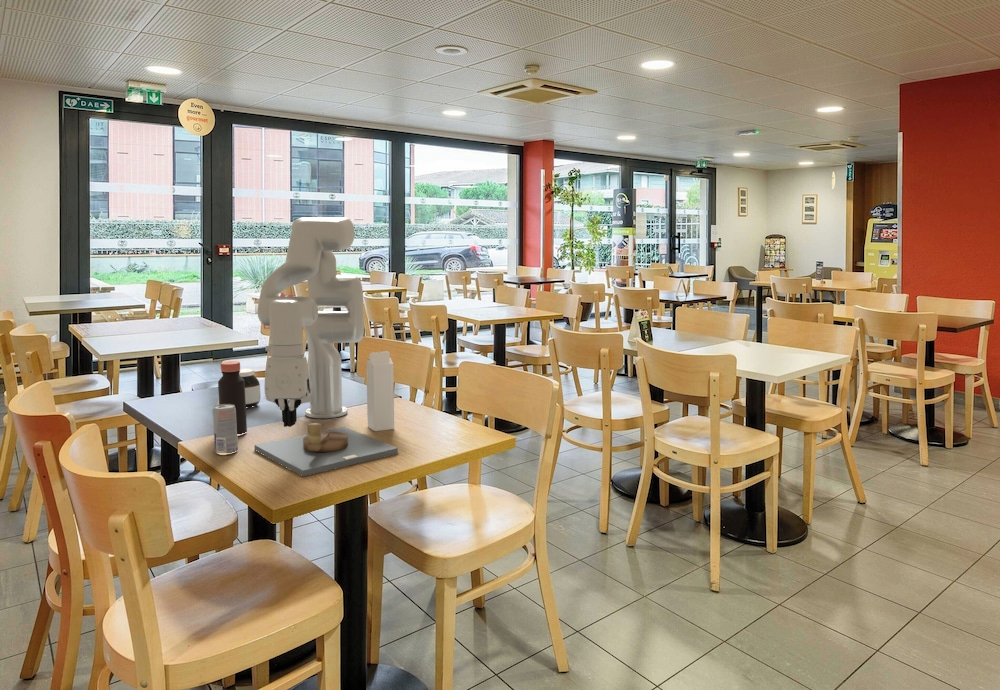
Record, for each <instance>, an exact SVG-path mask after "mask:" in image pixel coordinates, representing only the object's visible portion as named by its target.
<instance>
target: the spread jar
mask: <svg viewBox="0 0 1000 690" xmlns="http://www.w3.org/2000/svg"><path fill="white" fill-rule="evenodd" d="M239 375H240V376H241V377H242V378H243V379H244V381H245V401H246V407H252V406H255V407H256V406H258V405H259V403H260V402H261V383H260V381H259V379H258V378H257V377H256V376H255V369H253V368H240V372H239ZM216 405H219V394H218V396H217V401H216ZM252 408H253V407H252Z"/></svg>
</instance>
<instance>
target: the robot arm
mask: <svg viewBox="0 0 1000 690" xmlns="http://www.w3.org/2000/svg"><path fill="white" fill-rule="evenodd" d="M355 235H356V233H355V227H354V223H353V222H352V221H351V219H350V218H348V217H325V216H324V217H323V216H322V217H321V216H318V217H317V216H316V217H315V216H311V217H310V216H309V217H305V216H304V217H299V218H297V219H295V220H293V221H292V225H291V232H290V237H289V242H288V247H287V253H286V258H285V262H284V263H283V264H281V265H280V266H278V267H277V268H276V269H275V270H274V271H272V272H271V273H270V275H268V276H267V277H266V278H265V280H264V282H263V283H262V286H261V289H260V294H259V299H258V303H257V304H258V305H257V318H258V319H259V322H260V323H261V324H263V326H264V325H265V327H270V329H269V336H270V337H269V340H270V341H269V342H270V343H269V345H266V346H265V347H264V348H265V352H269V355H270V356H267V359H266V363H265V369H264V371H265V372H264V395H265V397H266V401H268V402H270V403H275V404H276V405H277V407H279V410H280V411H281V417H282V418H281V419H282V420H281V421H282V423H283V427H285V428H287V427H288V428H292V427H293V426H294V425H296V423H297V419H298V418H297V415H298V414H297V409H298V408H299V407H300V405H303V404H307V403H309V405H310V407H309V408H307V409H305V412H304V414H305V416H307V417H309V418H312V419H333V418H334V419H335V418H338V417H342V416H343V417H344V416H345V415H347V414H348V411H349V410H348V408H347V407H346V406H343V386H342V382H343V381H342V357H341V354H340V352H339V350H338V349H337V348H336V347H335V345H334V344H336V343H337V344H343V343H344V344H355V343H359V342H361V340H363V338H364V335H365V334H364V333H365V315H364V312H365V311H364V310H365V309H364V292H363V290H364V289H363V285H362V281H361V280H360V278H358V277H357V276H355V275H352V274H350V275H347V274H346V275H345V274H338V273H337V259H336V256H335V254H334V251H337V252H338V251H345V250H346V249H349V248H350V247H351V246H352V245H353V243H354V241H355V240H354V239H355ZM332 251H333V252H332ZM306 281H307V295H308V296H293V297H290V296H288V295H287V296H286V295H285V296H280V294H281V293H282V292H283V291H285V290H286V289H288V288H291V287H293V286H296V285H298V284H301V283H303V282H306ZM278 295H279V296H278ZM319 307H320V308H345V309H346V310H347V311H344V310H342V311H337V310H331V311H330V310H322V311H321V310H320V311H319ZM303 328H304V329H303ZM303 330H304V332H303ZM304 333H305V337H306V342H307V351H308V354H307V355H308V359H307V356H306V355H304Z"/></svg>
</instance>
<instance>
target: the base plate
mask: <svg viewBox="0 0 1000 690" xmlns="http://www.w3.org/2000/svg"><path fill="white" fill-rule="evenodd" d="M321 432H338V433H343V434H346V435H347V436H348V446H347V447H345V448H344V449H341V450H338V451H332V452H311V451H307V450H305V449H304V448H303V438H304V437H306V436H308V433H307V434H301V435H297V436H291V437H287V438H283V439H277V440H271V441H267V442H263V443H257V444H254V451H255V450H257V451H259V452H260V453H262V454H264V455H266V456H267V457H269V458H271V459H273V460H274V461H273V460H272V461H273V462H275V461H276V462H275V463H277V462H278V463H280V464H282V465H283V466H282V465H281V466H282V467H284V466H285V467H284V468H286V467H287V468H286V469H288V468H289V469H291V470H292V471H291V470H290V471H291V472H293V471H294V473H295V472H296V473H295V474H297V473H298V474H297V475H299V474H300V475H302V476H305V477H308V476H307V475H309V476H311V475H310V474H313V475H316V474H315V473H317V474H319V473H318V472H321V473H324V472H323V471H325V472H327V471H326V470H329V471H332V470H331V469H333V470H336V469H335V468H337V469H341V468H345V467H349V465H350V466H353V464H354V465H358V464H361V462H362V463H365V461H366V462H369V460H370V461H373V459H374V460H377V459H376V458H378V459H381V458H380V457H382V458H385V457H384V456H386V457H389V455H390V456H394V455H398V454H399V453H398V451H399V449H398V447H396V446H394V445H391V444H389V443H386V442H384V441H381V440H379V439H377V438H374V437H371V436H369V435H366V434H364V433H361V432H359V431H356V430H354V429H351V428H349V427H346V426H342V427H340V426H339V427H336V428H331V429H326V430H321ZM257 451H256V452H257ZM260 453H259V454H260ZM262 454H261V455H262ZM264 455H263V456H264ZM266 456H265V457H266ZM267 457H266V458H267ZM269 458H268V459H269ZM271 459H270V460H271ZM278 463H277V464H278ZM357 463H358V464H357ZM280 464H279V465H280ZM340 467H341V468H340ZM289 469H288V470H289ZM300 475H299V476H300ZM302 476H301V477H302Z"/></svg>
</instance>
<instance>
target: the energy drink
mask: <svg viewBox="0 0 1000 690" xmlns="http://www.w3.org/2000/svg"><path fill="white" fill-rule="evenodd" d="M212 419H213V437H214V453H215V452H217V453H232V452H235V451H237V450H239V449H238V448H239V447H238V436H237V423H236V408H235V405H233V404H221V405H217V404H216V405H213V409H212ZM237 452H238V451H237Z"/></svg>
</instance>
